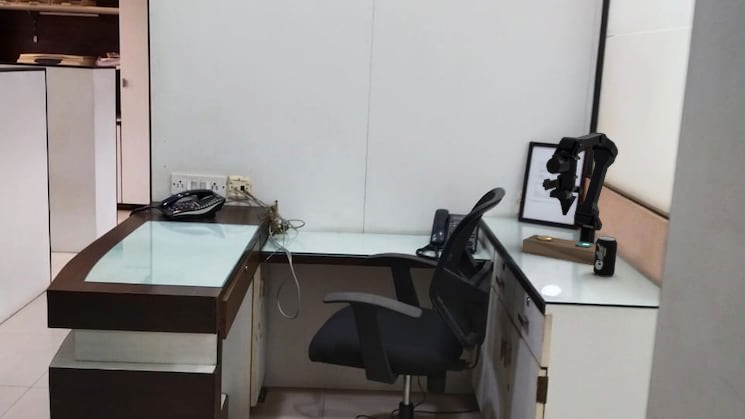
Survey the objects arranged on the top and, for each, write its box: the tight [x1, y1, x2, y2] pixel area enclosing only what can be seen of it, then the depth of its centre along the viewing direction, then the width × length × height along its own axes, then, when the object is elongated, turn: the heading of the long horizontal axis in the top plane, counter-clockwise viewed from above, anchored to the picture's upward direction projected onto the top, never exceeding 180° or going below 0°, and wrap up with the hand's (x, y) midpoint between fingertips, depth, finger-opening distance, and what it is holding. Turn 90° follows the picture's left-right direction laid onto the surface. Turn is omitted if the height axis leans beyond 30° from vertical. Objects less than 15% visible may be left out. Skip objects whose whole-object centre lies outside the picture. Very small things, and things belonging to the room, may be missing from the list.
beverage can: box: [592, 235, 618, 277], centre depth 238 cm, size 7×7×12 cm
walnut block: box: [521, 234, 596, 266], centre depth 262 cm, size 12×26×4 cm, turn 57°
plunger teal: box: [576, 242, 591, 248], centre depth 258 cm, size 5×5×5 cm
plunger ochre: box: [538, 235, 552, 242], centre depth 266 cm, size 5×5×5 cm
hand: (564, 215), depth 268 cm, fingers closed
